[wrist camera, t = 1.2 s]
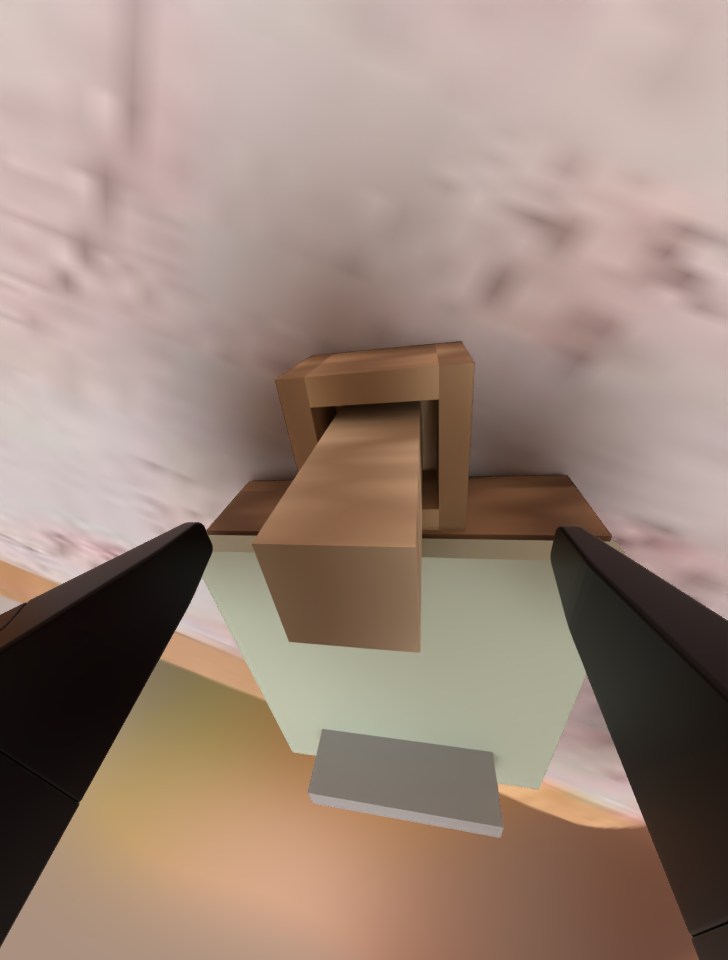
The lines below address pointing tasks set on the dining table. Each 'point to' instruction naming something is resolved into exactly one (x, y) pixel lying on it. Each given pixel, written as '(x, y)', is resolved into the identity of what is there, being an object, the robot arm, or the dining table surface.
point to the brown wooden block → (352, 534)
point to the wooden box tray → (445, 447)
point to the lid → (420, 684)
